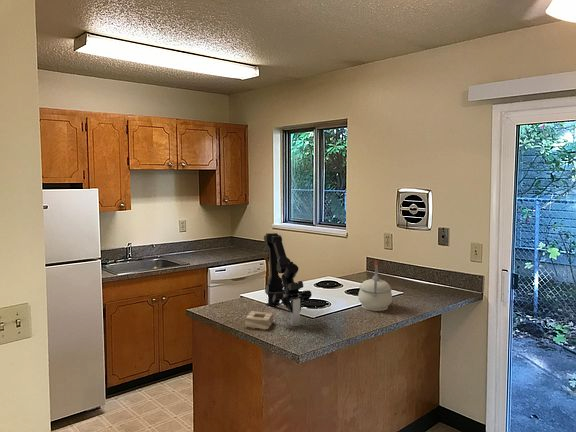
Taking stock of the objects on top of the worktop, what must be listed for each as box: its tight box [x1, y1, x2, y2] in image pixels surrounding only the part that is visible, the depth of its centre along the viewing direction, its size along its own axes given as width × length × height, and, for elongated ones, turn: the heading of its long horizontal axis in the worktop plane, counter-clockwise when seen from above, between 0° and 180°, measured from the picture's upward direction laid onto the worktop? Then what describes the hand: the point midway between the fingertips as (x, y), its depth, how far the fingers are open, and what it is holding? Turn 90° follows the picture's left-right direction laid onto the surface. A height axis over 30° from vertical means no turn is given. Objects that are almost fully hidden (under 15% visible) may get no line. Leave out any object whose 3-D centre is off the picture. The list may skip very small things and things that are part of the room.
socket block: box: [244, 310, 274, 330], centre depth 224 cm, size 11×11×4 cm
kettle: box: [357, 259, 393, 312], centre depth 258 cm, size 25×18×25 cm
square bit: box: [289, 297, 301, 327], centre depth 225 cm, size 4×4×13 cm
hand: (296, 312), depth 224 cm, fingers closed on square bit, 4 cm apart
